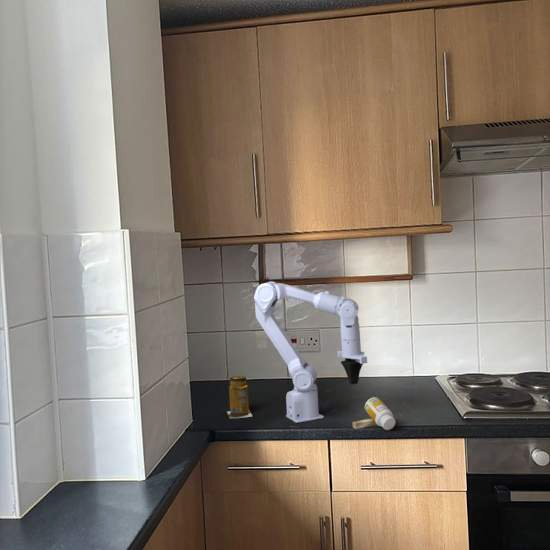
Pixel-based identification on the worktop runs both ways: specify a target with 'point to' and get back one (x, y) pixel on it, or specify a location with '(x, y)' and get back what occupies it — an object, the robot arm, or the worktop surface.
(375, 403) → the supplement bottle
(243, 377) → the condiment
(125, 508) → the worktop surface
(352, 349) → the robot arm
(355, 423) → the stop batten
